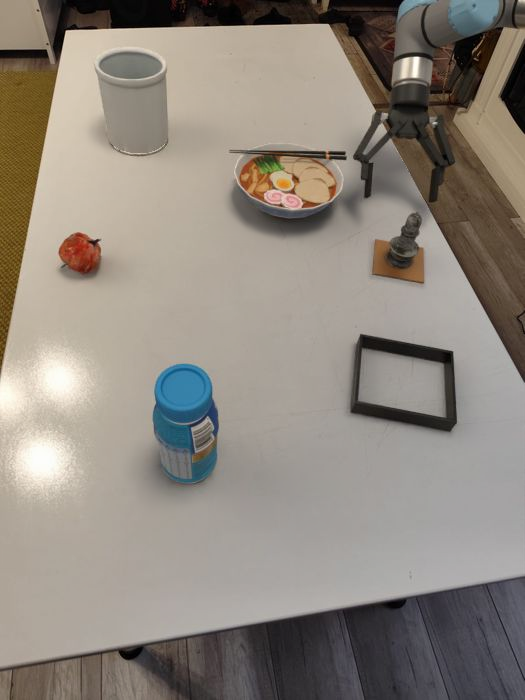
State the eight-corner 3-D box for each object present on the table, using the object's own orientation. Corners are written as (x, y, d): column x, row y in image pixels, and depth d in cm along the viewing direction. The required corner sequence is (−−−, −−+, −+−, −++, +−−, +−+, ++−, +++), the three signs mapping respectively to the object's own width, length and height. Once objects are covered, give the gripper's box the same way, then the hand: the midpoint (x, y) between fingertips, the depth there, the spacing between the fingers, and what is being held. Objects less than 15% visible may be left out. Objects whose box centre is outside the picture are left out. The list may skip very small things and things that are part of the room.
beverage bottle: (157, 485, 73) (142, 417, 57) (162, 431, 78) (150, 355, 62) (217, 486, 74) (218, 418, 58) (218, 432, 79) (220, 357, 63)
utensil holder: (145, 114, 129) (136, 39, 115) (184, 141, 123) (181, 66, 109) (94, 135, 122) (79, 58, 108) (134, 165, 116) (123, 87, 102)
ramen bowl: (226, 235, 105) (227, 202, 98) (228, 167, 119) (229, 134, 112) (347, 241, 107) (356, 210, 100) (336, 174, 120) (343, 142, 114)
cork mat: (422, 249, 107) (423, 247, 107) (423, 283, 101) (424, 281, 101) (374, 240, 108) (375, 238, 107) (372, 274, 102) (373, 272, 101)
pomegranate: (70, 291, 96) (109, 269, 92) (38, 265, 92) (77, 240, 87) (80, 266, 101) (117, 244, 97) (50, 240, 97) (88, 215, 92)
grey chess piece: (411, 250, 106) (431, 202, 96) (415, 271, 103) (436, 223, 93) (382, 248, 106) (400, 200, 96) (386, 268, 102) (404, 220, 93)
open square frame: (446, 361, 91) (453, 351, 88) (450, 431, 82) (457, 422, 80) (356, 344, 91) (360, 333, 89) (350, 412, 83) (354, 402, 81)
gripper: (463, 99, 107) (451, 205, 110) (343, 89, 105) (335, 197, 108) (480, 86, 99) (468, 201, 102) (352, 76, 97) (343, 192, 101)
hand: (400, 199), depth 105 cm, fingers open, 13 cm apart
